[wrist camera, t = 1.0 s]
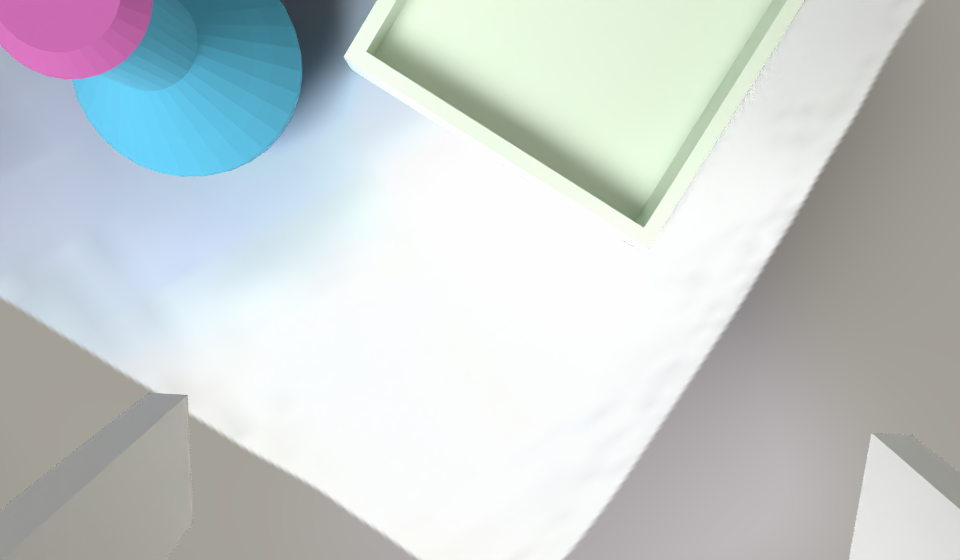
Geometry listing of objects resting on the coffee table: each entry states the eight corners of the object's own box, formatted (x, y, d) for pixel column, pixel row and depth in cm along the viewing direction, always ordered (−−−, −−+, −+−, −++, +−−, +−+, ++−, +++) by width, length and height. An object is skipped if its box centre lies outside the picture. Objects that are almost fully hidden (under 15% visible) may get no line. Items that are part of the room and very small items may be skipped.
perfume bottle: (224, -62, 34) (57, -275, 19) (359, 93, 35) (301, 7, 20) (77, 71, 34) (-204, -36, 19) (215, 220, 35) (51, 230, 20)
